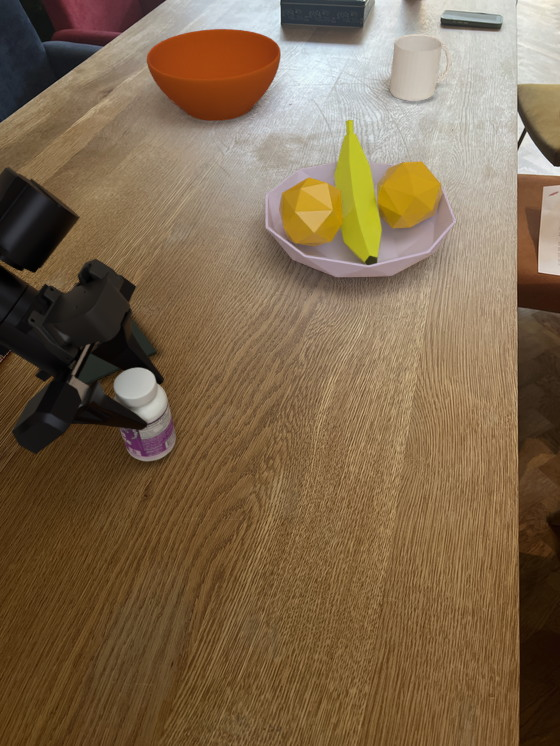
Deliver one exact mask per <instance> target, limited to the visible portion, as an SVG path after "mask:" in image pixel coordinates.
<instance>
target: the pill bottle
mask: <svg viewBox="0 0 560 746" xmlns="http://www.w3.org/2000/svg"><path fill="white" fill-rule="evenodd" d="M113 390H114V396H113V399H114V400H115V401H117V402H118V403H120V404H122V405H123V406H125V407H126V408H128V409H129V410H131V411H133V412H134V413H136V414H137V415H139V416H140V417H141V418H142V419H143V420H145V421H146V422H147V423H148V425H147V427H146V428H144V429H143V430H135V429H127V428H119V427H118V428H119V432H120V435H121V438H122V440H123V443H124V445H125V449H126V450H127V452H128V454H129V455H130V456H131V457H133V458H134V459H136V460H138V461H141V462H153V461H158V460H161V459H162V458H164V457H166V456H167V455H168V454H169V453H170V452H171V451H172V450H173V449H174V447H175V444H176V441H177V435H176V429H175V425H174V424H175V423H174V420H173V416H172V413H171V407H170V402H169V399H168V396H167V393H166V391H165V389H164V388H163V387H162V386H161V384H160V385H159V384H157V383H156V379H155V376H154V375H153V373H152V372H150V371H149V370H147V369H144V368H131V369H128V370H125V371H124V370H123V371H122V372H120V373H119V374H118V375H117V376H116V378H115V379H114V381H113Z"/></svg>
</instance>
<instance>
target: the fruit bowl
mask: <svg viewBox="0 0 560 746" xmlns="http://www.w3.org/2000/svg"><path fill="white" fill-rule="evenodd" d="M345 130H346V134H345V135H344V136H343V140H342V144H341V147H340V151H339V155H338V159H337V161H332V162H328V163H322V164H317V165H313V166H308V167H302V168H298V169H296V170H295V171H294V172H292V173H291V174H290V175H289V176H287V177H286V178H284V179H283V180H281V182H279V183H278V184H277V185H275V186H274V187H273V188H271V189H270V190H269V191H267V192H266V193H265V194H264V195H265V229H266V230H267V231H268V232H269V234H270V235H271V236H272V237H273V238H274V240H276V242H277V244H279V245H280V246H281V248H282V249H283V250H284V251H285V253H286V254H287V255H288V257H290V259H291V260H292V261H294V262H297V263H299V264H302V265H305V266H306V267H309V268H311V269H313V270H316V271H319V272H322V273H325V274H327V275H329V276H331V277H334V278H366V277H367V278H371V277H373V278H374V277H392V276H393V277H394V275H397V274H398V273H400V272H402V271H404V270H406V269H408V268H410V267H412V266H414V265H415V264H418V263H419V262H421V261H424V260H425V259H427V258H429V257H430V256H433V255H434V254H435V253H437V250H438V249H439V248H440V246H441V244H442V243H443V241H444V240H445V239H446V237H447V236H448V234H450V232H451V230H452V228H454V226H455V224H456V223H457V219H456V217H455V214H454V211H453V209H452V206H451V204H450V201H449V199H448V195H447V193H446V190H445V188H444V187H442V184H441V182H440V181H439V180H438V178H437V177H436V176H435V175H434V173H432V171H431V170H430V169H429V168H428V166H427V165H426V163H424V161H403V162H400V163H398V164H397V163H396V164H391V163H381V162H374V161H369V160H368V158H367V156H366V154H365V151H364V149H363V147H362V144H361V142H360V140H359V138H358V136H357V133H355V131H354V119H347V120H345Z"/></svg>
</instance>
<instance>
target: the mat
mask: <svg viewBox="0 0 560 746" xmlns="http://www.w3.org/2000/svg"><path fill="white" fill-rule="evenodd" d="M131 325H132V332H133V335H134V336H135V338H136V340H137V341H138V343H139V345H140V346H141V348H142V349H143V350H144V352H145V353H146V355H147V356H148V357H149V358H150V357H151V356H154V355H156V354H157V350H156V349H155V348H154V346H153V345H152V343H151V342H150V341H149V340H148V338H147V336H145V335H144V333H143V332H142V330H141V329H140V328H139V326H138V325H137V324H136V322H135V321H134V320H133V319H132V318H131ZM82 347H83V346H82ZM82 347H81V348H82ZM81 348H80V349H81ZM74 363H75V361H74V362H73V363H72V364H73V365H74ZM73 365H72V366H73ZM72 366H71V368H70V369H72ZM120 370H121V369H120V368H118V367H116V366H114V365H112V364H110V363H108V362H106V361H104V360H102V359H100V358H98V357H96V356H94V355H92V354H91V353H90V355H89V357H88V359H87V361H86V363H85V365H84V367H83V369H82V371H81V373H80V375H79V377H78V379H79V380H80V381H82V382H83V383H85V384H87V385H90V384H91V383H93V382H94V381H95V380H96V379H98V380H100V379H102V378H105V377H107V376H109V375H112V374H114V373H116V372H118V371H120Z"/></svg>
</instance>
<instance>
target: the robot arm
mask: <svg viewBox="0 0 560 746" xmlns="http://www.w3.org/2000/svg"><path fill="white" fill-rule="evenodd" d="M80 218H81V217H80V216H79V215H78V213H76V212H75V211H74V210H73V209H72V208H71V207H70V206H68V205H67V204H66V203H64V202H63V201H62V200H60V198H58V197H57V196H56V195H55V194H53V193H52V192H51V191H50V190H48V189H47V188H45V187H44V186H43V185H41V184H40V183H38V182H37V181H36V180H35V179H33V178H30V179H29V178H27V177H26V176H25V175H23V174H21V173H18V172H17V171H15V170H13V169H12V168H11V167H9V166H7V167H4V168H3V170H2V171H1V173H0V261H1V262H2V263H4V264H6V265H7V266H9V267H10V268H12V269H14V270H17V271H20V272H24V270H26V271H28V272H30V273H33V274H36V273H37V271H38V270H39V269H42V267H43V266H44V265H45V263H47V261H48V260H49V259H50V257H51V256H52V254H54V252H55V251H56V250H57V248H58V247H59V246H60V244H61V243H62V241H63V240H65V238H66V237H67V235H68V234H69V232H71V230H72V229H73V227H74V226H75V225H76V223H77V222H78V221H79V220H80ZM77 279H78V282H75V284H74V285H73V287H72V288H71V289H70V290H68V291H66V292H64V291H61V290H59V289H58V288H57V287H55V286H53V285H48V284H47V283H44V284H43V285H42V286H41V287H40V289H37V288H36V287H34V286H33V285H31V284H30V283H28V282H27V281H26V280H24V279H23V278H21V277H20V276H19V275H16V274H15V273H13V272H12V271H11V270H10V269H8V268H7V267H5V266H3V265H2V264H0V356H1V357H3V358H4V357H5V356H6V355H7V354H9V352H11V353H13V354H15V355H17V356H18V357H20V358H21V359H23V360H25V361H26V362H28V363H29V364H31V365H33V366H34V367H36V368H37V369H38V370H37V372H36V373H35V375H34V377H35V378H37V379H39V380H41V381H42V382H44V383H45V382H47V381H48V380H49V379H50V378H52V380H51V381H49V382H48V383H47V384H46V385H45V386H43V388H41V389H40V390H39V391H38V392H37V393H35V395H33V396H32V397H31V398H30V399H29V400H28V401H27V402H26V404H25V407H24V408H23V410H22V412H21V413H20V415H19V417H18V419H17V420H16V423H15V424H14V427H13V428H12V430H11V433H12V435H13V437H14V439H15V441H16V442H17V444H18V446H20V447H22V448H24V449H26V450H27V451H30V452H31V453H33V454H34V455H37V454H39V453H41V452H42V451H43V450H44V449H45V448H47V447H48V446H49V445H51V444H52V443H54V442H55V441H56V440H57V439H59V438H60V437H61V436H63V435H65V433H66V432H67V431H68V430H69V428H70V427H71V425H94V426H95V425H96V426H105V427H113V428H127V429H135V430H143V429H144V428H146V427H147V425H148V423H147V422H146V421H145V420H143V419H142V418H141V417H140V416H139V415H137V414H136V413H134V412H133V411H131V410H129V409H128V408H126V407H125V406H123V405H122V404H120V403H118V402H117V401H115V400H114V398H112V397H111V396H109V395H108V394H106V393H105V391H104V389H103V387H102V384H101V381H100V379H96V380H95V381H94V382H92V383H89V384H85V383H83V382H82V381H80V380H79V379H78V377H79V375H80V373H81V371H82V369H83V367H84V365H85V363H86V361H87V359H88V357H89V355H90V353H91V354H92V355H94V356H96V357H98V358H100V359H102V360H104V361H106V362H108V363H110V364H112V365H114V366H116V367H118V368H120V370H122V371H123V372H124V371H125V370H128V369H131V368H144V369H147V370H149V371H150V372H152V373H153V375H154V376H155V379H156V383H157V384H159V385H160V386H161V385H162V384H163V383H164V381H165V378H164V376H163V375H162V374H161V372H160V371H159V370H158V368H157V367H156V365H155V364H154V363H153V361H152V360H151V358H150V356H149V357H148V356H147V355H146V353H145V352H144V350H143V349H142V348H141V346H140V345H139V343H138V341H137V340H136V338H135V336H134V335H133V332H132V325H131V319H132V316H133V311H132V308H131V304H130V301H131V299H132V297H133V295H134V292H135V291H136V288H137V285H135V284H134V283H133V282H131V281H130V280H128V279H127V278H126V277H124V276H123V275H122V274H118V273H117V271H116V270H115V269H113V268H112V267H111V266H109V265H108V264H105V262H103V261H101V260H99V259H98V258H93V259H91V260H89V261H85V262H84V264H83V265H82V267H81V268H80V270H79V272H78V273H77ZM82 346H83V347H82ZM81 347H82V348H81ZM80 348H81V349H80ZM74 361H75V363H74V365H73V364H72V363H73V362H74ZM72 365H73V366H72ZM71 366H72V369H70V368H71Z"/></svg>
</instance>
